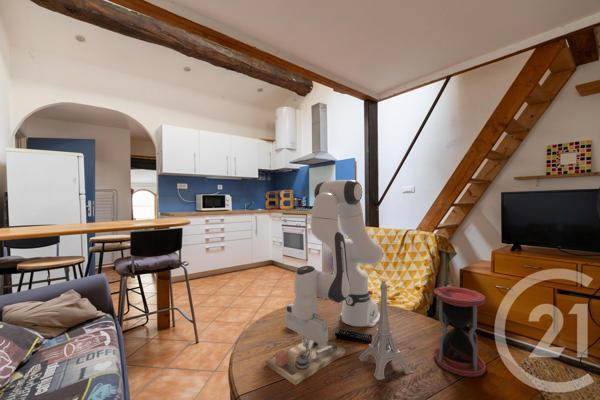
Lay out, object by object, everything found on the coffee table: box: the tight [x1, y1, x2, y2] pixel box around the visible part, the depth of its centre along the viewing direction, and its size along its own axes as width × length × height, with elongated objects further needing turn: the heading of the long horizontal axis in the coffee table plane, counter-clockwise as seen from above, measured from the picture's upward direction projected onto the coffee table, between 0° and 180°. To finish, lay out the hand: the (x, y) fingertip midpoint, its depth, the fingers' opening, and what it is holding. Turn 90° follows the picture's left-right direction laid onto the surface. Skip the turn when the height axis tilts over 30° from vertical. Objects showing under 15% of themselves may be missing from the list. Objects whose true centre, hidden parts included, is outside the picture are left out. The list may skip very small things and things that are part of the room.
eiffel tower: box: [357, 279, 414, 381], centre depth 98 cm, size 13×13×30 cm
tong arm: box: [296, 340, 318, 365], centre depth 102 cm, size 18×4×2 cm, turn 162°
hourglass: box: [432, 286, 486, 378], centre depth 99 cm, size 16×16×25 cm
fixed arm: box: [295, 341, 338, 370], centre depth 100 cm, size 19×5×2 cm, turn 128°
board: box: [265, 340, 346, 386], centre depth 102 cm, size 26×15×2 cm, turn 134°
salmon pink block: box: [275, 349, 288, 367], centre depth 96 cm, size 3×3×4 cm
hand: (306, 346), depth 105 cm, fingers closed, pressing on tong arm
